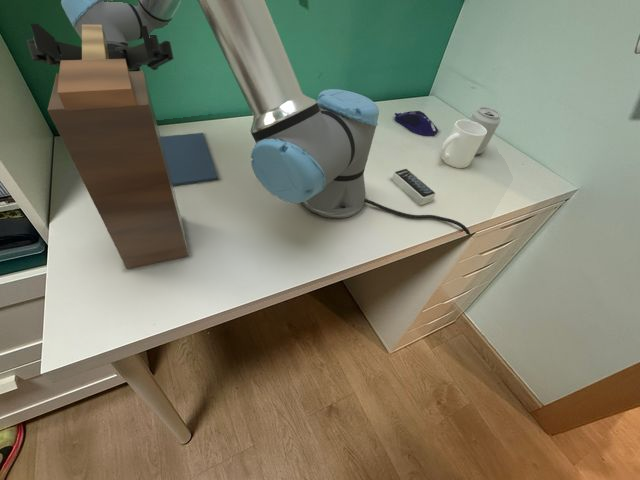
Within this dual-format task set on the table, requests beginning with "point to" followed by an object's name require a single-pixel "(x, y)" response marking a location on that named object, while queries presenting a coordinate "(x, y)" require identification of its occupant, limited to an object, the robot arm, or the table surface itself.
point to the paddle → (95, 76)
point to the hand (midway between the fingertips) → (94, 36)
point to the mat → (188, 158)
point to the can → (486, 124)
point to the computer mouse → (417, 122)
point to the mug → (462, 143)
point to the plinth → (125, 174)
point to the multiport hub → (413, 186)
